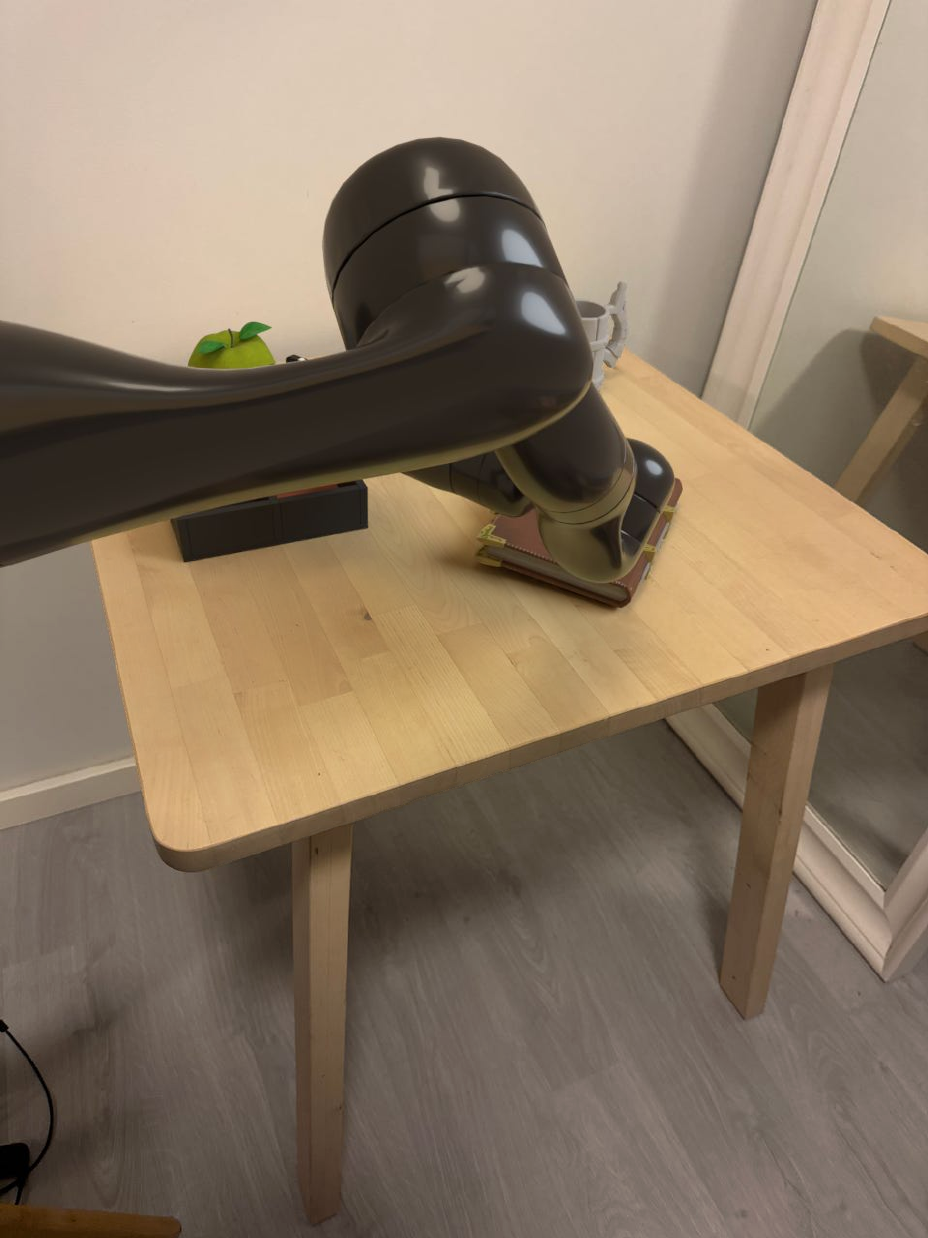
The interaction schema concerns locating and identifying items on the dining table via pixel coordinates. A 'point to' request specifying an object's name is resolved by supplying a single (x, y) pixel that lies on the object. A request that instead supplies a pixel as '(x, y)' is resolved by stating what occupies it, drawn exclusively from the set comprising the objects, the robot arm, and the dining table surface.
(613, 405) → the dining table surface
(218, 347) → the fruit
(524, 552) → the book
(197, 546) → the caddy
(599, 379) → the mug
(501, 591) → the dining table surface
